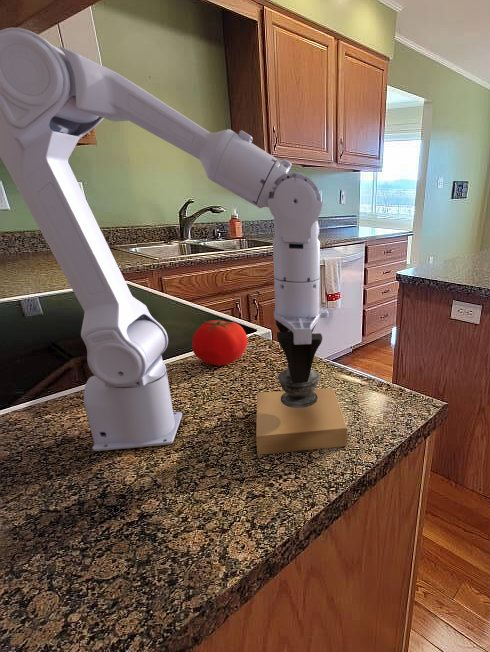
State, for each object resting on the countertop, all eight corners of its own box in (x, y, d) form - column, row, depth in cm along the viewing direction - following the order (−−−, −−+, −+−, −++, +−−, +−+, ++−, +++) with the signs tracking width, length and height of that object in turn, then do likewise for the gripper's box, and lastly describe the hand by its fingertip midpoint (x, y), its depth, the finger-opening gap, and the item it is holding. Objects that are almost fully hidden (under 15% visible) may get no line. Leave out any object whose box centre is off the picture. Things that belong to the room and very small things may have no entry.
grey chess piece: (312, 411, 54) (312, 328, 49) (271, 405, 55) (267, 322, 50) (324, 392, 59) (326, 315, 54) (287, 386, 60) (285, 310, 55)
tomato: (188, 358, 79) (183, 318, 76) (238, 348, 85) (235, 311, 82) (203, 375, 72) (197, 332, 69) (256, 364, 78) (253, 323, 75)
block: (257, 455, 52) (256, 436, 51) (258, 409, 63) (257, 392, 62) (346, 446, 55) (347, 427, 54) (332, 403, 66) (333, 387, 64)
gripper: (338, 291, 45) (335, 397, 50) (320, 267, 58) (320, 353, 63) (273, 291, 43) (278, 401, 48) (271, 266, 56) (274, 355, 61)
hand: (298, 374), depth 55 cm, fingers closed on grey chess piece, 4 cm apart
